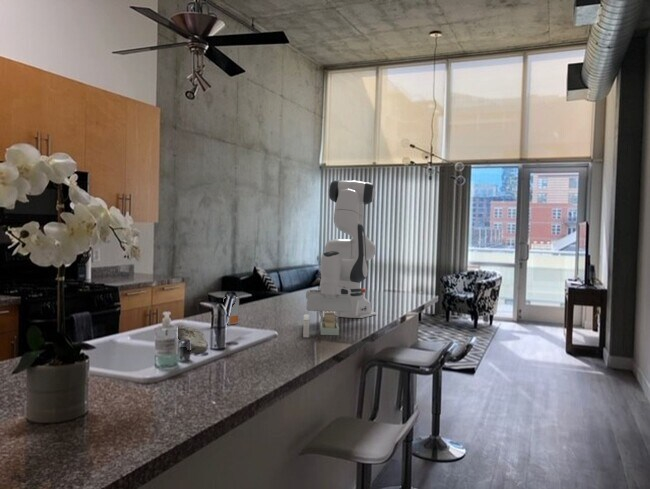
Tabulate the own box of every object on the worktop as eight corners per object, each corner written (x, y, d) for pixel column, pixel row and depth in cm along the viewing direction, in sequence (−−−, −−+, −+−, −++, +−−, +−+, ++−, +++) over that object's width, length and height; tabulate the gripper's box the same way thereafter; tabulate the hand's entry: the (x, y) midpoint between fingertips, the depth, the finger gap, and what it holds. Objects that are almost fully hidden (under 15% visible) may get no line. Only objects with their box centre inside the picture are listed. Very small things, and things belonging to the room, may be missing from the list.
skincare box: (228, 325, 232) (229, 298, 232) (222, 323, 235) (223, 297, 234) (238, 323, 237) (239, 297, 236) (232, 322, 239) (233, 296, 239)
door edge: (303, 324, 237) (304, 313, 237) (309, 325, 237) (309, 313, 237) (303, 337, 211) (303, 324, 211) (309, 337, 211) (309, 324, 211)
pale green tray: (320, 328, 230) (320, 322, 230) (337, 328, 230) (337, 322, 230) (320, 334, 216) (320, 328, 216) (338, 335, 217) (339, 328, 217)
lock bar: (334, 330, 218) (334, 315, 218) (325, 329, 218) (325, 315, 218) (333, 325, 228) (333, 311, 228) (324, 325, 228) (324, 311, 228)
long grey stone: (183, 358, 180) (212, 358, 183) (185, 343, 179) (213, 343, 183) (172, 333, 212) (196, 332, 216) (173, 320, 211) (197, 320, 215)
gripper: (306, 289, 219) (305, 322, 220) (354, 290, 220) (353, 323, 220) (306, 288, 225) (305, 319, 226) (353, 289, 226) (352, 320, 227)
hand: (329, 321), depth 223 cm, fingers closed on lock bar, 4 cm apart
